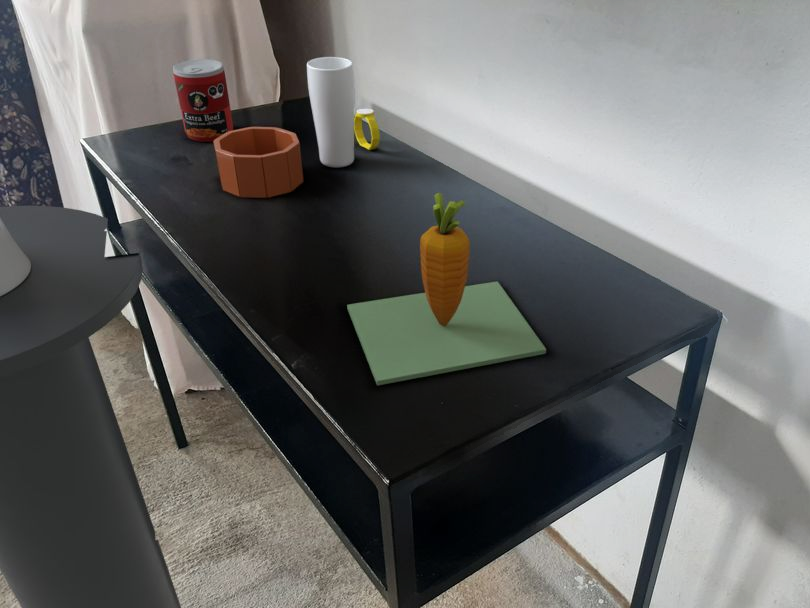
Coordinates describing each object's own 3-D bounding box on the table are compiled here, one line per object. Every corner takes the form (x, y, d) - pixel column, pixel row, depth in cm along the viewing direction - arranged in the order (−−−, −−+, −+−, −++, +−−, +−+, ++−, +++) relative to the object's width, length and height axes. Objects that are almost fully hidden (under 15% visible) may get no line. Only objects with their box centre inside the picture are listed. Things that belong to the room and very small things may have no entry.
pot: (224, 202, 101) (217, 161, 98) (218, 168, 110) (211, 129, 107) (308, 193, 105) (304, 153, 101) (295, 161, 114) (291, 123, 110)
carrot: (422, 311, 80) (422, 184, 71) (467, 313, 80) (472, 186, 71) (418, 337, 76) (417, 206, 67) (465, 340, 76) (470, 209, 67)
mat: (377, 385, 71) (376, 381, 70) (347, 309, 81) (347, 304, 81) (545, 353, 76) (546, 349, 75) (497, 285, 86) (497, 281, 86)
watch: (384, 151, 118) (383, 115, 114) (369, 155, 117) (367, 118, 113) (365, 139, 122) (363, 104, 118) (350, 143, 120) (348, 107, 117)
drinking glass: (328, 151, 117) (320, 54, 108) (366, 158, 116) (361, 60, 107) (307, 166, 112) (297, 66, 103) (347, 173, 110) (340, 72, 101)
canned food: (181, 142, 118) (166, 73, 111) (192, 125, 124) (179, 58, 118) (229, 143, 119) (218, 73, 112) (237, 125, 125) (227, 59, 118)
